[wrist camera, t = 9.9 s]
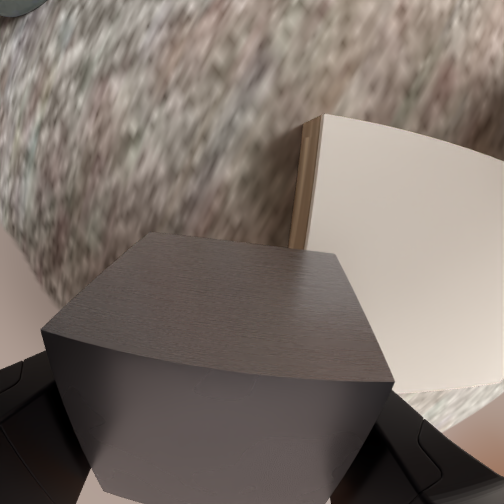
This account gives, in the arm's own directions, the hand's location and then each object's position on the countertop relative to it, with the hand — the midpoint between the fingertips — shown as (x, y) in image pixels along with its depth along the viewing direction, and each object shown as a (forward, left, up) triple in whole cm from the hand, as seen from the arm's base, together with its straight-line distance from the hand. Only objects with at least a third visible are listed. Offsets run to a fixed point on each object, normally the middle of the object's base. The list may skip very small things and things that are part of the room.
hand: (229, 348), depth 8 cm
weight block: (0, 0, -1) cm, 1 cm away
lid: (-9, 0, -5) cm, 11 cm away
